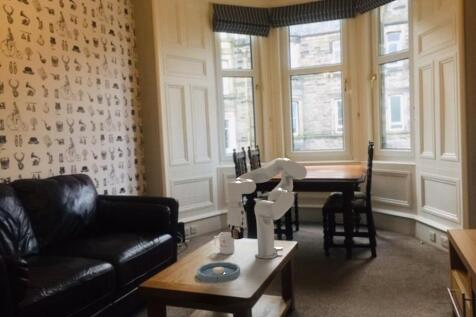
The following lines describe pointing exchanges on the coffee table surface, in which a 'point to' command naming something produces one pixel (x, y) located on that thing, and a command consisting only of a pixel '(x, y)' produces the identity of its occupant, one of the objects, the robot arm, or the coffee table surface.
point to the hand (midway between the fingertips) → (237, 237)
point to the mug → (225, 243)
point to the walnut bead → (235, 233)
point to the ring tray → (218, 272)
